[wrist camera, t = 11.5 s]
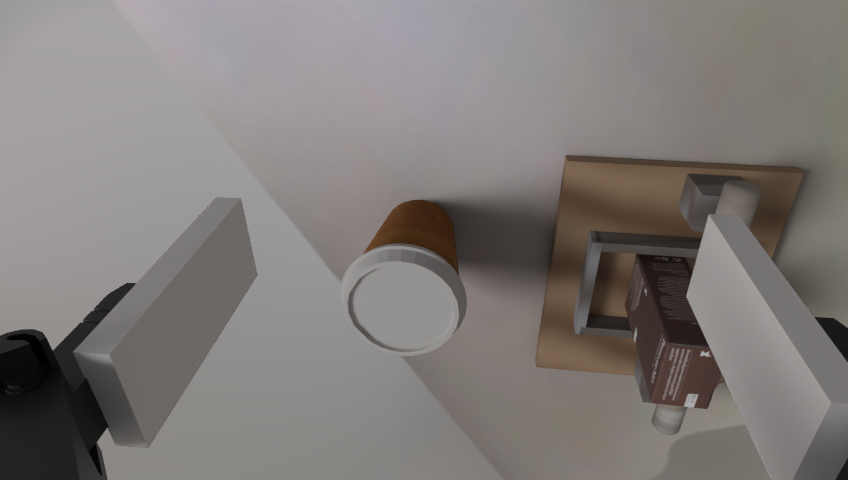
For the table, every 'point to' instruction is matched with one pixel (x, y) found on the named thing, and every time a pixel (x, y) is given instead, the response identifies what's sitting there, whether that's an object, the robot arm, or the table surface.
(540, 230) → the table surface
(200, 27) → the table surface
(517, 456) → the table surface
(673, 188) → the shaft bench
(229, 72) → the table surface
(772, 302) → the robot arm
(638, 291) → the box
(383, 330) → the disposable coffee cup
